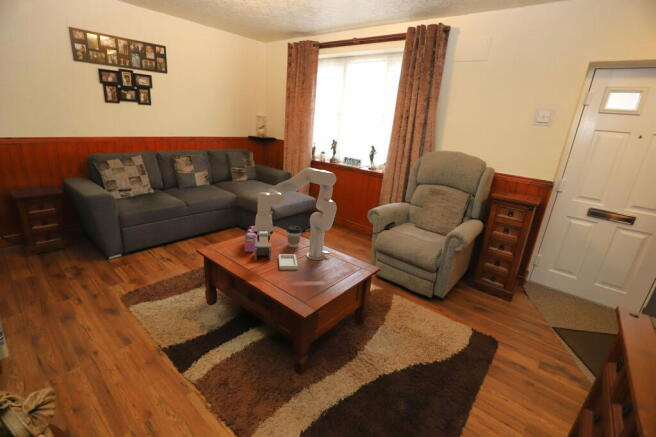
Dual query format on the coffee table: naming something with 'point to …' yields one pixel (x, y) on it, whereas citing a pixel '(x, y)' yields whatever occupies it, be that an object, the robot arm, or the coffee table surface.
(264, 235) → the teal-tabbed cream block
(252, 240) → the gum box
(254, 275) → the coffee table surface
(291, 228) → the coffee cup
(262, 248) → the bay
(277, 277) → the coffee table surface
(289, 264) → the tray
